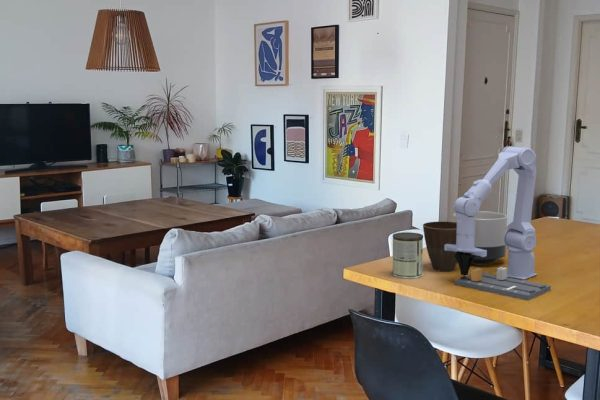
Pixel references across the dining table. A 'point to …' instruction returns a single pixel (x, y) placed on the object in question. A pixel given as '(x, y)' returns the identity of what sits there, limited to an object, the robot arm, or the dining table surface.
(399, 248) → the coffee can
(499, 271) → the grey fader knob
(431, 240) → the plant pot
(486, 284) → the console
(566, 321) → the dining table surface
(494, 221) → the planter
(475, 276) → the orange fader knob
